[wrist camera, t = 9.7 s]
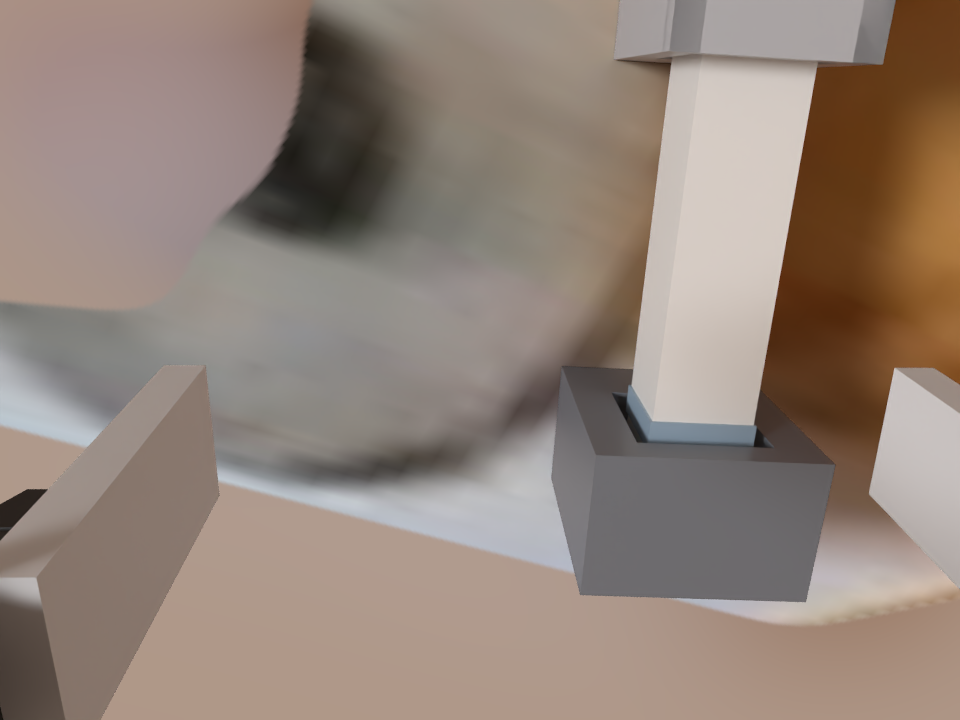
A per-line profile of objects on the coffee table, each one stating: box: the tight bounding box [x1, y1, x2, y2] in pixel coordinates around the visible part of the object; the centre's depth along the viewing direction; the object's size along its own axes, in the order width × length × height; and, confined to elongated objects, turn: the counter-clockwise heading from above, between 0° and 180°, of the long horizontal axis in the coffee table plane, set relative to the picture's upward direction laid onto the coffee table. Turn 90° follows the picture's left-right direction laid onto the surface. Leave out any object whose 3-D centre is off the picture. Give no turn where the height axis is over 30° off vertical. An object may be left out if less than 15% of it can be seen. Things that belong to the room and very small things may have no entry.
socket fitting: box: [551, 366, 835, 602], centre depth 36 cm, size 6×9×10 cm, turn 87°
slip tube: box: [626, 54, 818, 447], centre depth 32 cm, size 19×4×4 cm, turn 177°
